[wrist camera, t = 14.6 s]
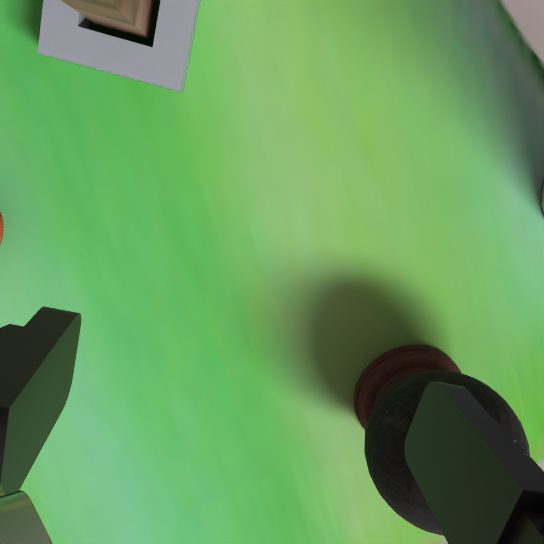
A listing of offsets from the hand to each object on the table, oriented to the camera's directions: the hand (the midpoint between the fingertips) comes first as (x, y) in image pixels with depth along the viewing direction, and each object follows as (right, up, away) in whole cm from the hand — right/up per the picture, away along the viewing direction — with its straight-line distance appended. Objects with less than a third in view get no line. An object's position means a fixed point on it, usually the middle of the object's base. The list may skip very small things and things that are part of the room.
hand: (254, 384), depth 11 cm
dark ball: (+14, -10, +39) cm, 42 cm away
